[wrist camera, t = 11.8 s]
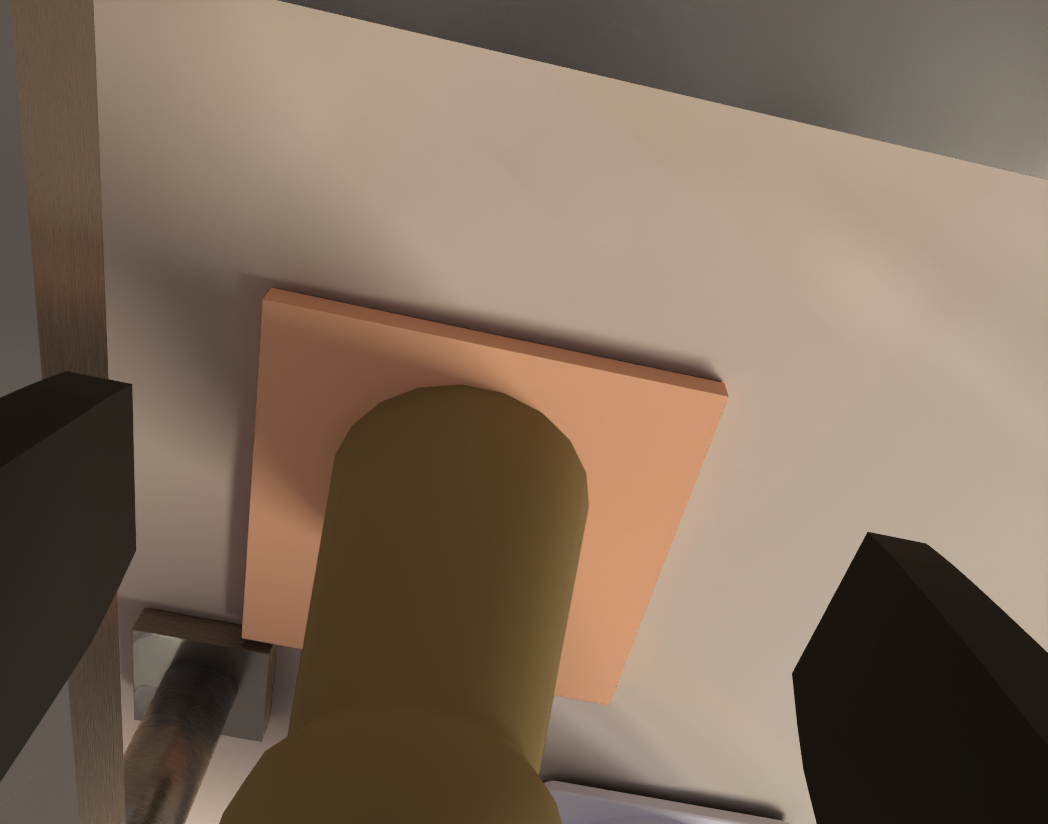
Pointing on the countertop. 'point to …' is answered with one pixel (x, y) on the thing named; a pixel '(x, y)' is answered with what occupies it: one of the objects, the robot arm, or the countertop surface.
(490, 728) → the cork
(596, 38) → the bent rail
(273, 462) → the mat
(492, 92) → the countertop surface
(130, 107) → the countertop surface
